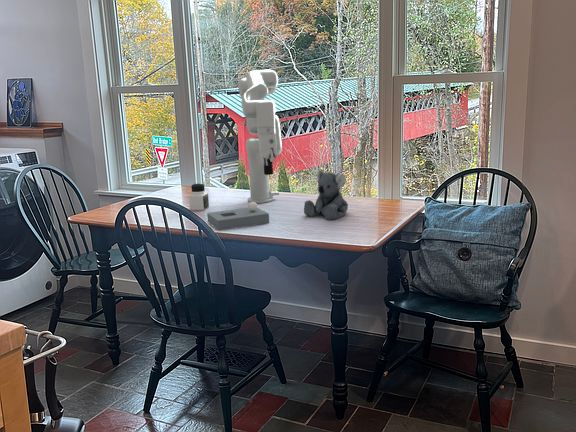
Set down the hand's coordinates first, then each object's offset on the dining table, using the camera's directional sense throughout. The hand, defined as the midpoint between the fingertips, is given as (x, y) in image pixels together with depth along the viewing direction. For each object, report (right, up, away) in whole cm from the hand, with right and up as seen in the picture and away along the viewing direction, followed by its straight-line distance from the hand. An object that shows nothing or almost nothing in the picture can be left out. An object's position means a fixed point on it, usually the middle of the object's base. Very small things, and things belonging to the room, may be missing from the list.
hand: (268, 174), depth 244 cm
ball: (-7, -14, 0) cm, 15 cm away
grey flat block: (-13, -21, -1) cm, 24 cm away
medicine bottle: (-34, -15, +28) cm, 46 cm away
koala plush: (+26, -17, +6) cm, 32 cm away
